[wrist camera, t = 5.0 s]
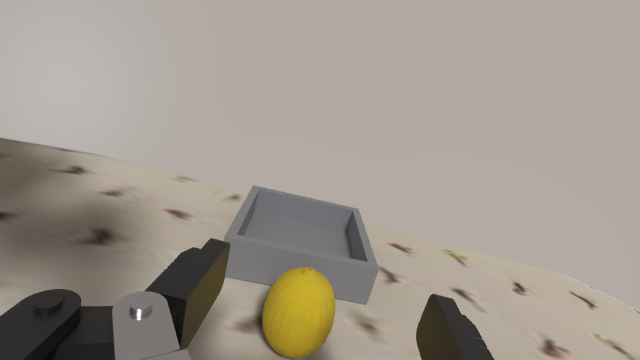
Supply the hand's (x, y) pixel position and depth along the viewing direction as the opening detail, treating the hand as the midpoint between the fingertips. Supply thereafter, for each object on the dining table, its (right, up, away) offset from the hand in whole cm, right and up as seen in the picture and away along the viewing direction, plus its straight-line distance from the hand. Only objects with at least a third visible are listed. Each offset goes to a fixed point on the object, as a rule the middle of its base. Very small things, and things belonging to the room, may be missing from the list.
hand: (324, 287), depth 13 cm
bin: (-3, -5, +29) cm, 30 cm away
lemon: (-3, -10, +14) cm, 17 cm away
